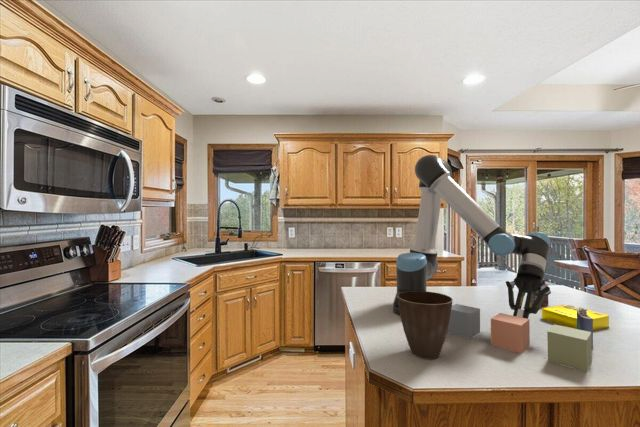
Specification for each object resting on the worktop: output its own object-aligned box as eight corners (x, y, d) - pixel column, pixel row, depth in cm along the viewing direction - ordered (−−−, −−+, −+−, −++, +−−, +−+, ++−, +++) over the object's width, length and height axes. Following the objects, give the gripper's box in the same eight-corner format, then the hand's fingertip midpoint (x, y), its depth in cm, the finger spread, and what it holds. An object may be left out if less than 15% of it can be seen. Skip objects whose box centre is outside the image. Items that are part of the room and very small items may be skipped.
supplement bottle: (547, 303, 135) (547, 278, 135) (549, 307, 130) (548, 280, 130) (531, 301, 138) (531, 277, 138) (532, 305, 133) (531, 279, 133)
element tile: (539, 319, 116) (539, 306, 116) (565, 314, 121) (565, 302, 121) (584, 333, 102) (584, 319, 102) (611, 327, 107) (611, 314, 107)
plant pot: (386, 351, 88) (386, 295, 88) (417, 338, 97) (417, 288, 97) (433, 371, 76) (433, 307, 76) (463, 355, 85) (463, 297, 85)
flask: (594, 350, 88) (594, 313, 89) (581, 348, 90) (581, 311, 90) (585, 339, 96) (585, 305, 97) (573, 337, 98) (573, 303, 98)
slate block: (470, 339, 97) (470, 313, 97) (445, 332, 103) (445, 308, 103) (480, 332, 102) (480, 308, 102) (456, 326, 108) (456, 303, 108)
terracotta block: (521, 353, 86) (521, 325, 86) (491, 344, 92) (490, 318, 92) (529, 345, 92) (529, 319, 92) (500, 337, 98) (500, 312, 98)
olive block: (587, 372, 76) (586, 340, 76) (547, 361, 82) (547, 331, 82) (591, 362, 81) (591, 332, 81) (554, 352, 87) (554, 324, 87)
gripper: (556, 278, 104) (545, 341, 92) (512, 273, 113) (497, 330, 102) (552, 265, 100) (540, 328, 89) (507, 260, 110) (491, 317, 98)
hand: (517, 329), depth 95 cm, fingers closed
